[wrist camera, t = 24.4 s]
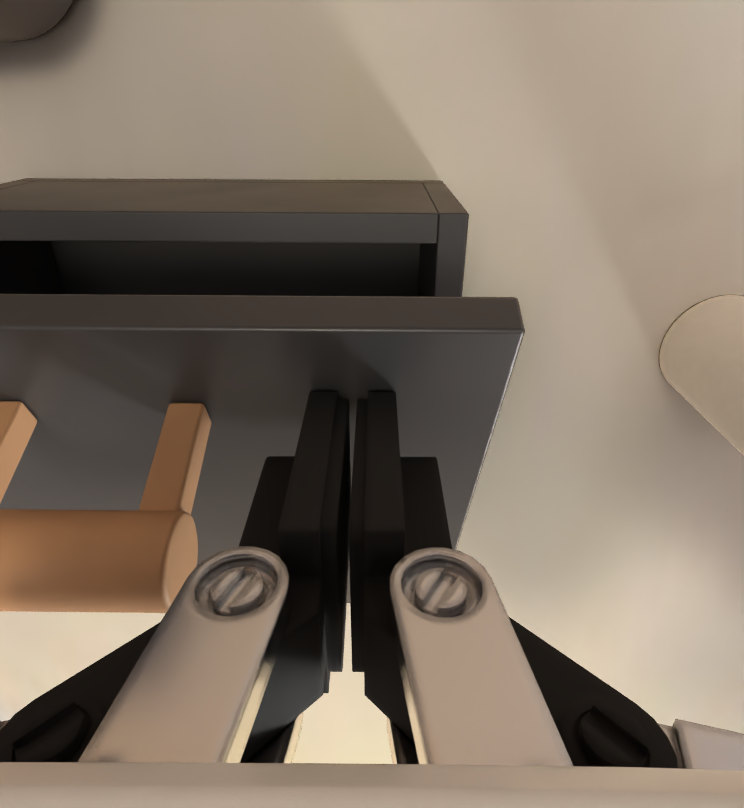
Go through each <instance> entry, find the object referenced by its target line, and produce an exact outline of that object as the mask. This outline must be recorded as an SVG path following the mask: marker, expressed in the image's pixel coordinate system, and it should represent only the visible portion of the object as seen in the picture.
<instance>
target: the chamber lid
mask: <svg viewBox="0 0 744 808" xmlns="http://www.w3.org/2000/svg"><path fill="white" fill-rule="evenodd" d="M524 332H525V330H524V325H523V320H522V316H521V311H520V307H519V302H518V299H517V298H515V297H392V296H241V295H90V294H0V611H31V612H131V613H166V612H167V611H168V609H169V607H170V606H171V604H172V602H173V601H174V599H175V597H176V596H177V594H178V592H179V591H180V589H181V587H182V586H183V584H184V582H185V580H186V579H187V577H188V576H189V575H190V573H191V572H192V571H193V570H194V568H195V567H196V566H197V565H198V564H200V563H201V562H202V561H204V560H205V559H206V558H208V557H209V556H211V555H213V554H216V553H218V552H220V551H222V550H225V549H230V548H235V547H239V543H240V540H241V537H242V534H243V531H244V527H245V524H246V521H247V518H248V514H249V511H250V508H251V505H252V501H253V498H254V495H255V492H256V488H257V485H258V482H259V479H260V475H261V472H262V469H263V466H264V463H265V460H266V458H267V457H268V456H295V453H296V449H297V444H298V440H299V436H300V431H301V427H302V422H303V418H304V414H305V409H306V405H307V401H308V396H309V393H310V392H338V396H339V399H349V423H350V465H351V487H352V472H353V456H354V441H355V426H356V411H357V399H368V392H396V402H397V417H398V432H399V448H400V457H436V458H437V462H438V467H439V473H440V479H441V485H442V491H443V497H444V503H445V509H446V515H447V521H448V527H449V533H450V539H451V545H452V549H453V550H456V548H457V545H458V542H459V538H460V535H461V532H462V529H463V526H464V522H465V519H466V516H467V513H468V510H469V507H470V503H471V500H472V497H473V494H474V491H475V488H476V484H477V481H478V478H479V475H480V472H481V469H482V465H483V462H484V459H485V456H486V453H487V450H488V446H489V443H490V440H491V437H492V434H493V430H494V427H495V424H496V421H497V418H498V415H499V411H500V408H501V405H502V402H503V399H504V396H505V392H506V389H507V386H508V383H509V380H510V377H511V373H512V370H513V367H514V364H515V361H516V357H517V354H518V351H519V348H520V345H521V342H522V338H523V335H524ZM347 603H351V601H350V565H349V570H348V587H347Z"/></svg>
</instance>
